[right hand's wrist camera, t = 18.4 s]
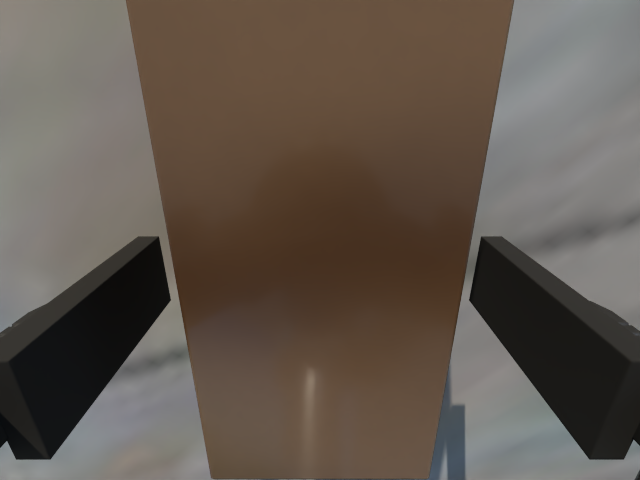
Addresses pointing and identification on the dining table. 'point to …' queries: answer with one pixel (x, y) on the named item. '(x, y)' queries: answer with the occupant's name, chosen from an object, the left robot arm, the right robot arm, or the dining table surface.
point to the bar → (320, 216)
